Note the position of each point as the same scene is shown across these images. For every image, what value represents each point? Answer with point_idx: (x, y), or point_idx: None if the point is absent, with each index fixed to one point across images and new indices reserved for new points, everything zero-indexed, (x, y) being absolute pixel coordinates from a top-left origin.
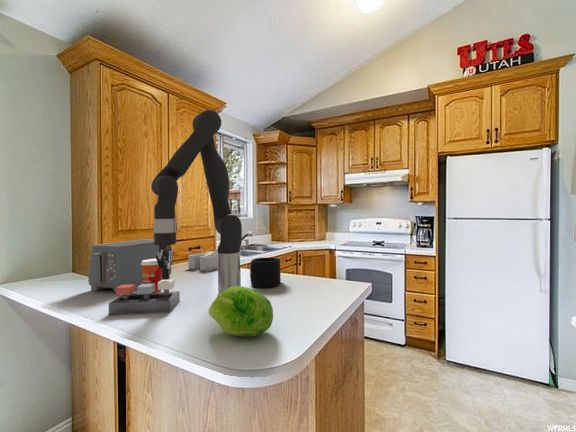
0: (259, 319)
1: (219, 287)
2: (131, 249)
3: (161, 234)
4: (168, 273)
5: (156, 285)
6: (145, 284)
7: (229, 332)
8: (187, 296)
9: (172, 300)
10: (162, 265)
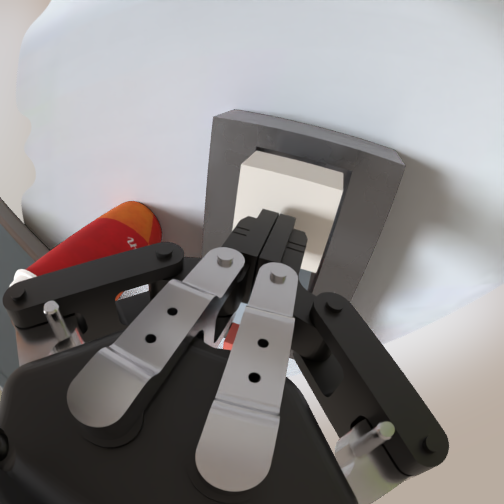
0: None
1: None
2: (4, 369)
3: None
4: (281, 237)
5: (125, 238)
6: (242, 309)
7: None
8: (157, 85)
9: (364, 149)
10: (330, 351)
